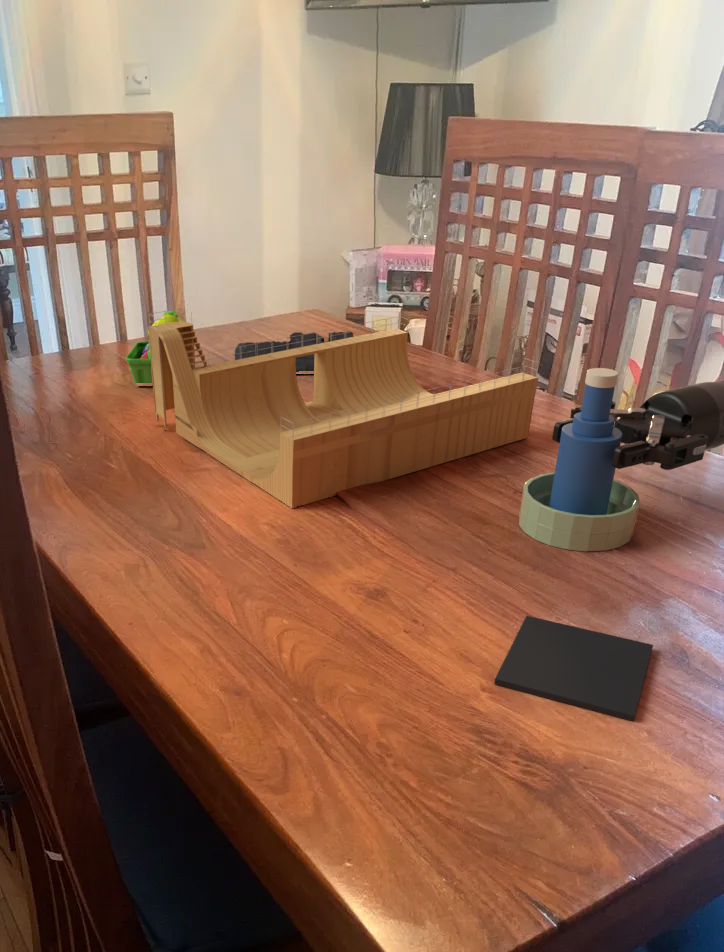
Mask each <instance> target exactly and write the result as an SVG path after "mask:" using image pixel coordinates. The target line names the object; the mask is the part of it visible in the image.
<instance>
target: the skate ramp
mask: <svg viewBox="0 0 724 952" xmlns="http://www.w3.org/2000/svg"><path fill="white" fill-rule="evenodd" d="M178 310H179V311H186V312H188V313H190V317H191V318H189V317H187V316H185V315H183V317H182V320H181V321H178V322H172V323H167V318H166V317H165V322H166V324H160V325H156V324H155V325H154V326H152V325H153V324H154V323H155V322H156V320H157V321H158V320H161V318H158V317H156V316H154V315H153V314H154V312H151V313H148V322H149V326H148V330H149V335H148V338H149V339H148V341H150V354H151V366H152V370H151V372H152V385H153V387H152V396H153V397H152V398H153V408H154V409H153V410H154V413H155V420H156V421H157V422H158V421H159V422H160V419H159V417H161V418H163V427H167V428H168V426H167V423H168V422H167V412H166V411H168V410H173V409H174V420H175V421H174V422H175V433H176V434H177V435H179V436H180V437H182V438H183V439H184V440H186V441H187V442H189V443H191V444H192V445H194V446H195V447H197V448H198V449H201V450H202V451H203V452H205V453H206V454H208V455H209V456H210V457H213V459H215V460H217V461H218V462H220V463H222V464H223V465H224V466H226V467H228V468H229V469H231V470H232V471H234V472H235V473H236V474H238V475H240V476H241V477H243V478H244V479H245V480H247V481H248V482H250V483H252V484H254V485H256V486H257V487H258V488H261V489H262V490H263V491H264V492H266V493H268V494H269V495H271V496H272V497H274V498H275V499H277V500H279V501H280V502H281V501H282V503H285V506H287V507H289V506H290V507H289V508H290V509H294V508H293V507H295V508H298V507H297V506H299V507H302V506H305V505H308V504H312V503H315V502H319V501H321V500H325V499H329V498H332V497H335V496H338V494H337V493H339V492H343V491H345V490H348V489H352V488H355V487H358V486H359V487H360V486H364V485H370V484H375V483H380V482H386V481H389V480H391V479H394V478H398V477H402V476H405V475H408V474H412V473H415V472H417V471H421V470H425V469H428V468H431V467H435V466H439V465H441V464H444V463H447V462H452V461H455V460H458V459H461V458H464V457H468V456H471V455H475V454H478V453H481V452H485V451H488V450H491V449H494V448H499V447H501V446H504V445H508V444H510V443H515V442H518V441H521V440H525V439H529V435H530V434H529V433H530V429H531V421H532V415H533V410H534V405H535V397H536V392H537V387H538V383H539V377H538V371H539V366H540V363H539V362H538V361H536V360H532V359H529V358H526V357H524V360H523V363H525V362H526V361H525V360H528V361H530V362H534V363H529V364H527V365H525V364H523V366H520V367H513V368H510V369H506V370H502V371H499V372H497V373H496V372H494V373H493V375H495V376H494V378H493V379H490V380H486V381H483V377H487V376H488V374H485V375H482V376H481V377H480V376H477V377H473V378H470V379H466V380H462V381H458V382H453V383H449V384H445V385H441V386H440V388H442V387H446V386H452V385H455V384H458V383H463V382H464V385H465V386H462V387H457V388H455V389H452V387H449V390H446V391H442V392H438V393H431V392H429V391H430V390H436V389H437V388H439V386H437V387H433V388H429V389H425V388H424V387H422V385H421V384H420V383H419V381H418V380H417V379H416V377H415V375H414V373H413V370H412V369H411V365H410V361H409V355H408V335H409V332H408V331H409V324H405V323H402V322H400V321H399V318H401V319H405V320H407V321H409V318H406V317H404V316H403V317H402V316H400V315H397V317H396V316H394V317H392V319H394V318H397V319H396V322H395V323H393V325H395V324H396V325H397V328H391V329H387V326H391V325H392V323H390V324H389V323H387V322H388V320H390V319H391V317H388V318H387V320H385V318H382V319H381V321H384V320H385V325H383V327H385V328H384V329H385V330H382V331H381V330H380V331H377V332H371V333H365V334H360V333H361V330H360V329H358V330H357V332H358V335H357V336H354V337H351V338H344V339H340V340H335V341H332V337H331V339H330V342H326V341H324V342H325V343H320V344H317V342H318V339H319V338H318V335H319V333H320V332H322V330H318V331H313V333H317V335H316V344H315V345H310V346H305V347H300V348H295V349H290V350H285V351H279V352H274V353H269V354H264V355H259V356H258V354H257V356H254V357H249V358H244V359H239V360H235V359H234V360H229V361H223V362H219V363H214V364H210V360H211V358H209V357H210V356H209V355H207V359H208V361H207V360H206V355H205V354H204V353H203V349H202V348H201V343H200V342H198V337H197V335H196V331H195V330H194V324H193V323H190V322H187V321H185V320H184V319H185V318H186V319H189V320H191V321H193V315H192V312H191V311H190V310H187V309H185V308H177V309H175V311H178ZM169 311H173V309H171V310H170V309H169ZM165 312H166V310H164V311H162V313H165ZM158 313H161V311H157V312H156V314H158ZM151 317H153V318H156V319H153V320H151ZM177 317H179V318H180V315H178V316H177ZM171 318H173V317H171ZM154 321H155V322H154ZM378 321H379V322H380V319H377V320H376V322H378ZM151 323H152V324H151ZM368 323H370V321H368V322H366V324H368ZM371 323H372V324H371V327H368V328H367V330H370V329H371V330H374V329H375V328H376V326H374V325H375V320H374V321H371ZM363 324H364V322H362V323H361V322H360V325H363ZM357 325H358V326H359V323H357V324H355V326H357ZM399 325H403V326H406V327H407V328H406V331H405V330H402V329H399ZM353 326H354V324H351V325H350V327H353ZM347 327H348V325H346V326H345V328H347ZM379 327H382V325H380V326H378V328H379ZM342 328H343V326H340V327H339V329H342ZM336 329H338V327H335V328H334V330H336ZM363 330H366V328H365V329H364V328H363V329H362V331H363ZM325 331H327V329H324V330H323V332H325ZM328 331H332V328H330V329H328ZM347 332H348V331H347ZM350 332H351V331H350ZM350 332H348V333H350ZM354 332H355V333H356V330H353V331H352V333H354ZM310 333H311V332H309V333H307V334H310ZM302 334H303V335H305V334H306V333H302ZM343 334H344V333H343ZM337 335H339V334H337ZM298 336H300V335H298ZM332 336H334V335H332ZM292 337H295V336H292ZM322 338H324V339H325V336H322ZM326 338H329V335H327V336H326ZM282 339H283V340H285V337H283V338H281V340H282ZM287 339H290V336H289V337H287ZM279 340H280V338H277V339H276V341H279ZM311 340H313V339H311ZM265 341H266V342H269V340H265ZM272 341H273V339H271V340H270V342H272ZM306 341H308V340H306ZM260 342H261V343H263V342H264V341H260ZM301 342H302V341H301ZM254 343H255V344H256V342H254ZM258 343H259V342H258ZM258 343H257V344H258ZM296 343H298V342H296ZM291 344H293V343H291ZM250 345H252V344H250ZM286 345H287V344H286ZM245 346H247V345H245ZM280 346H282V345H280ZM236 347H237V346H234V347H233V349H236ZM239 347H240V346H239ZM241 347H242V346H241ZM275 347H277V346H275ZM270 348H272V347H270ZM231 349H232V347H228V350H231ZM265 349H267V348H265ZM226 350H227V348H224V349H218V350H217V352H220V351H222V352H225V351H226ZM260 350H262V349H260ZM254 351H256V350H254ZM195 352H198V354H195ZM214 352H216V350H213V351H212V353H214ZM249 352H251V351H249ZM210 353H211V351H208V352H207V354H210ZM244 353H246V352H244ZM239 354H240V353H239ZM311 354H315V356H314V375H313V397H312V399H313V400H310V401H306V402H305V401H304V399H303V396H302V394H301V391H300V387H299V383H298V379H297V375H296V357H301V356H306V355H311ZM234 355H236V354H235V353H234V354H233V356H234ZM230 356H232V354H230V355H228V357H230ZM196 358H200V360H198V361H196ZM220 358H221V356H219V357H217V359H220ZM222 358H225V355H223V356H222ZM214 359H216V357H215V358H214V357H213V358H212V360H214ZM207 363H208V364H207ZM198 364H202V365H203V366H199V367H196V365H198ZM536 364H537V366H536V367H537V368H533V367H530V366H531V365H532V366H533V365H536ZM526 367H527V368H529V369H533V370H530V371H526ZM519 368H522V369H523V371H522V372H519V373H516V374H512V373H509V375H506V376H502V377H498V378H497V376H498V374H499V373H503V372H506V371H512V370H516V369H519ZM531 372H536V373H535V375H532V374H528V373H531ZM491 375H492V373H489V376H491ZM478 378H479V380H480V381H479V382H478V383H474V384H471V385H467V383H468V381H471V380H474V379H478ZM328 497H329V498H328ZM301 505H302V506H301Z"/></svg>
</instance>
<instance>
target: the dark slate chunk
mask: <svg viewBox="0 0 724 952" xmlns="http://www.w3.org/2000/svg"><path fill="white" fill-rule="evenodd" d="M348 332H350V333H348ZM309 333H310V334H308V333H303V332H292V333H291V334H290V335H289V340H285V341H279V340H272V341H268V342H266V341H267V340H265V341H260V342H258V341H256V342H253V341H252V342H249V341H246V342H240V343H238V344H237V345H236V346H235V347H236V348H234V354H236V355H234V354H233V356H234V360H239V359H244V358H249V357H254V356H257V354H258V356H259V355H264V354H269V353H274V352H279V351H285V350H290V349H295V348H300V347H305V346H310V345H315V344H316V335H317V332H316V333H314V332H309ZM343 333H344V334H343ZM303 334H305V335H303ZM337 334H339V335H337ZM298 335H300V336H298ZM332 335H334V336H332ZM292 336H295V337H292ZM328 336H329V337H328V338H327V339H328V340H327V341H325V337H324V338H322V337H323V336H322V335H320V334H318V338H319V339H318V342H317V344H320V343H325V342H330V339H331V337H332V341H335V340H340V339H344V338H351V337H355V335H354V332H353V331H350V330H348V331H337V332H336V331H332V332H329V333H328ZM311 339H313V340H311ZM306 340H308V341H306ZM301 341H302V342H301ZM261 342H263V343H261ZM296 342H298V343H296ZM255 343H256V344H255ZM257 343H258V344H257ZM291 343H293V344H291ZM250 344H252V345H250ZM286 344H287V345H286ZM245 345H247V346H245ZM280 345H282V346H280ZM239 346H240V347H239ZM241 346H242V347H241ZM275 346H277V347H275ZM270 347H272V348H270ZM265 348H267V349H265ZM260 349H262V350H260ZM254 350H256V351H254ZM249 351H251V352H249ZM244 352H246V353H244ZM239 353H240V354H239ZM314 356H315V354H311V355H306V356H301V357H296V372H299V371H314Z"/></svg>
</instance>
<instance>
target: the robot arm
mask: <svg viewBox="0 0 724 952" xmlns="http://www.w3.org/2000/svg"><path fill="white" fill-rule="evenodd" d="M581 409H582V405H578V406H572V407H571V408H570V417H569V418H568V419H563V420H559V421H556V423H554V426H553V431H552V436H551V437H552V438H551V439H552V441H554V442H555V443H558V444H560V438H561V432H562V428H563V426H565V425H567V424H569V423H573V420H574V415H575V414H576V413H579V412H581ZM610 415H611V416H613V417H614V419H615V422H614V427H615V428H617V429H619V430H620V431H621V432H622V439H621V444H623V445H620V446H618V447H617V448H616V449H615V451H614V455H613V460H612V466H613V467H615V468H616V470H617V469H618V470H621V469H625V468H629V467H634V466H637V465H642V464H643V465H645V466H653V465H655V463H657V464H660V466H659V468H660V469H661V470H665V471H671V470H674V469H678V468H680V467H684V466H686V465H691V464H693V463H696V462H700V461H702V460H703V459H704V456H705V452H706V451H708V450H712V449H715V448H718V447H720V446H723V445H724V379H722V380H718V381H706V382H698V383H693V384H689V385H683V386H680V387H674V388H671V389H666V390H661V391H659V392H656V393H654V394H652V395H651V396H649V397H648V398H647V399H646V400H645V401H644V402H643V403H642V404H641V405H640V406H639V407H630V408H628V409H620V408H619V409H618V408H617V409H616V401H613V400H612V405H611V410H610Z"/></svg>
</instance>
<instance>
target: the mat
mask: <svg viewBox="0 0 724 952" xmlns="http://www.w3.org/2000/svg"><path fill="white" fill-rule="evenodd" d="M653 648H654V646H653V644H651V643H647V642H644V641H643V642H642V641H639V640H634V639H629V638H625V637H621V636H617V635H612V634H608V633H604V632H599V631H595V630H592V629H587V628H582V627H578V626H573V625H570V624H565V623H560V622H556V621H553V620H548V619H543V618H539V617H535V616H531V615H526V616H525V618H524V620H523V622H522V624H521V626H520V628H519V630H518V632H517V633H516V636H515V638H514V640H513V642H512V643H511V646H510V648H509V650H508V652H507V654H506V655H505V658H504V660H503V662H502V663H501V665H500V668H499V670H498V671H497V674H496V677H495V678H494V683H493V684H494V685H496V686H499V687H504V688H507V689H511V690H514V691H518V692H522V693H524V694H525V693H526V694H530V695H534V696H537V697H540V698H544V699H548V700H551V701H556V702H560V703H564V704H567V705H570V706H574V707H578V708H581V709H585V710H590V711H592V712H597V713H601V714H605V715H607V716H612V717H615V718H619V719H624V720H627V721H631V722H634V721H635V719H636V715H637V710H638V706H639V702H640V698H641V694H642V691H643V688H644V687H643V686H644V682H645V679H646V675H647V671H648V667H649V663H650V658H651V656H652V655H651V654H652V651H653Z"/></svg>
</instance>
